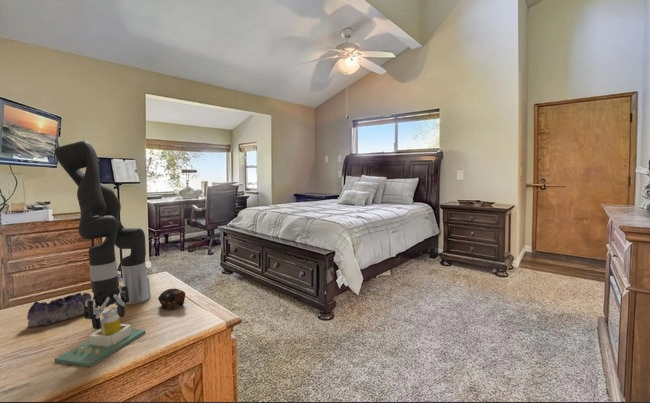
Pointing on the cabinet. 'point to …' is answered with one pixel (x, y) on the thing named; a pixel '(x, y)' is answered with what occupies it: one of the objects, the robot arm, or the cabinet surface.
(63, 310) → the geode
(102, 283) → the robot arm
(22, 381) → the cabinet surface
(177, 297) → the decorative turtle
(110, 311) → the supplement bottle
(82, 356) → the header board
